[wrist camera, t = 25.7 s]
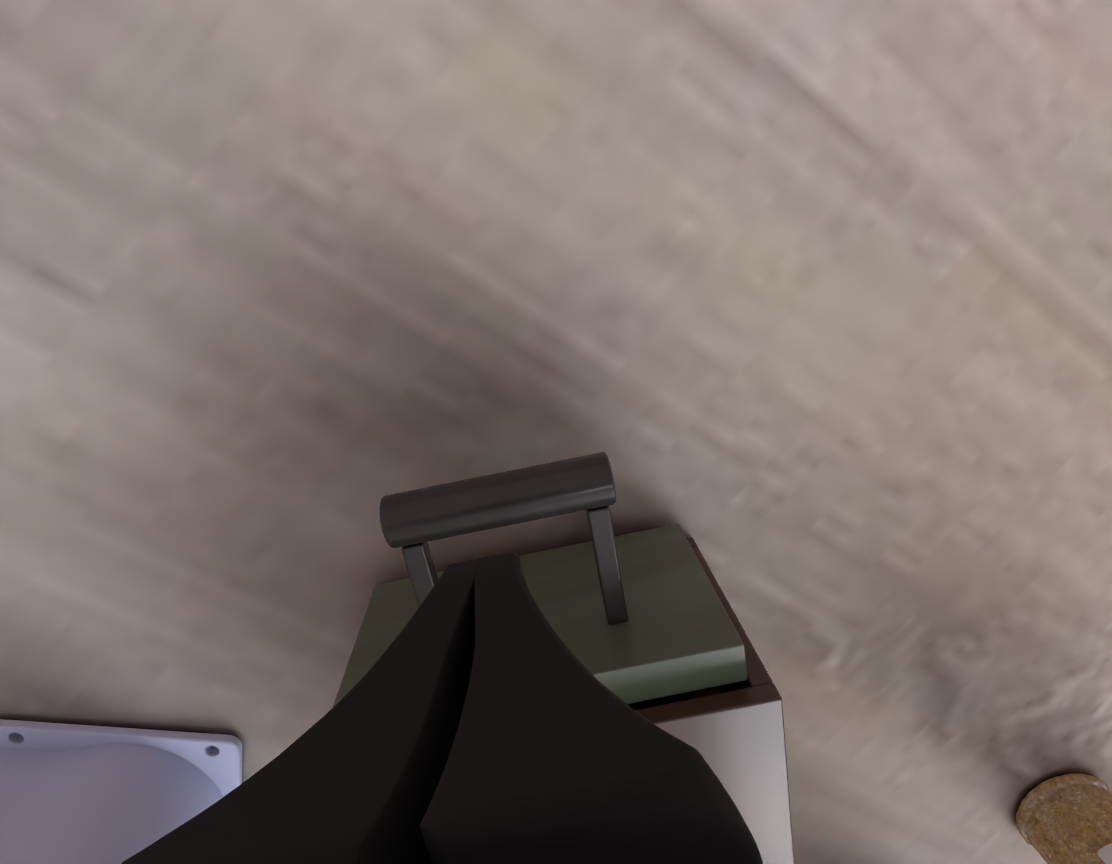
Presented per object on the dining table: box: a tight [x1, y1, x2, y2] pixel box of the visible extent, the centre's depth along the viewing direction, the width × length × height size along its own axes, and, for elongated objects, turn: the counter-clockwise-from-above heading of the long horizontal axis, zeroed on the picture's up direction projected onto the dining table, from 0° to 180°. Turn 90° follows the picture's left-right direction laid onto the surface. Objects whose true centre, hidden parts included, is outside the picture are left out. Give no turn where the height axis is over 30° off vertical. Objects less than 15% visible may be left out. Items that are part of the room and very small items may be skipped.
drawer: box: [333, 452, 747, 710], centre depth 21 cm, size 17×11×7 cm, turn 10°
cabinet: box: [635, 538, 794, 864], centre depth 22 cm, size 13×12×8 cm
